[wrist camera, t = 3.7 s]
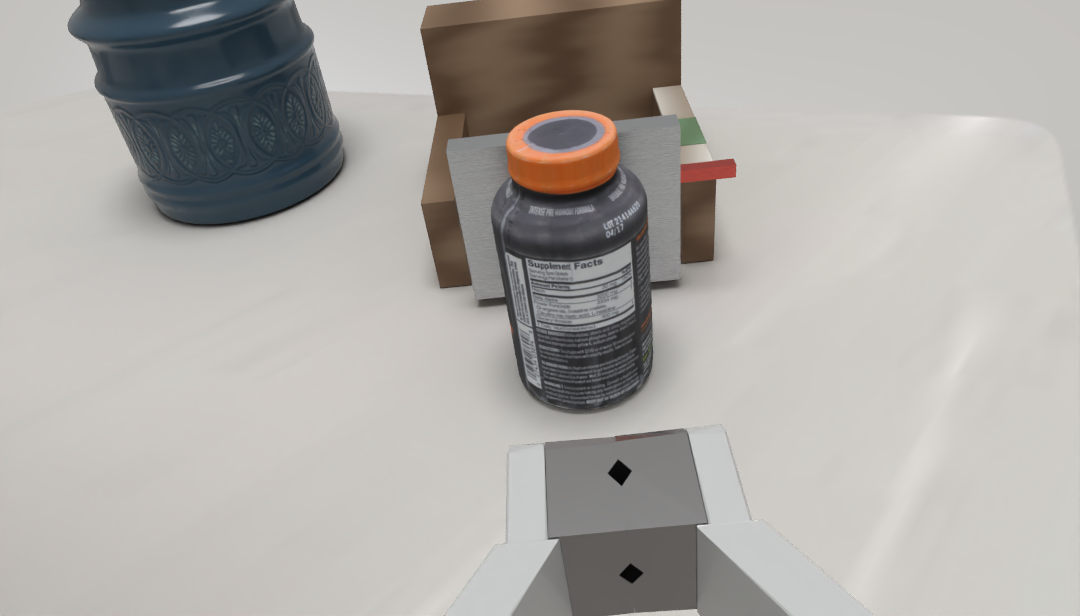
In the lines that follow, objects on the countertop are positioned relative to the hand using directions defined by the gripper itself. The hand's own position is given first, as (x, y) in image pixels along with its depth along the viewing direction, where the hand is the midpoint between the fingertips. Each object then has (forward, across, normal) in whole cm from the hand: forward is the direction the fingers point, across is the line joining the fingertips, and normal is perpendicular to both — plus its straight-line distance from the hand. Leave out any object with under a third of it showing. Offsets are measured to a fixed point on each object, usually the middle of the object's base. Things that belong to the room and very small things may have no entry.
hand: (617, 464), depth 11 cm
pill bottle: (+18, 0, +15) cm, 24 cm away
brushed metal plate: (+24, -1, +14) cm, 28 cm away
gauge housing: (+31, 0, +14) cm, 35 cm away
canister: (+40, +22, +14) cm, 48 cm away
